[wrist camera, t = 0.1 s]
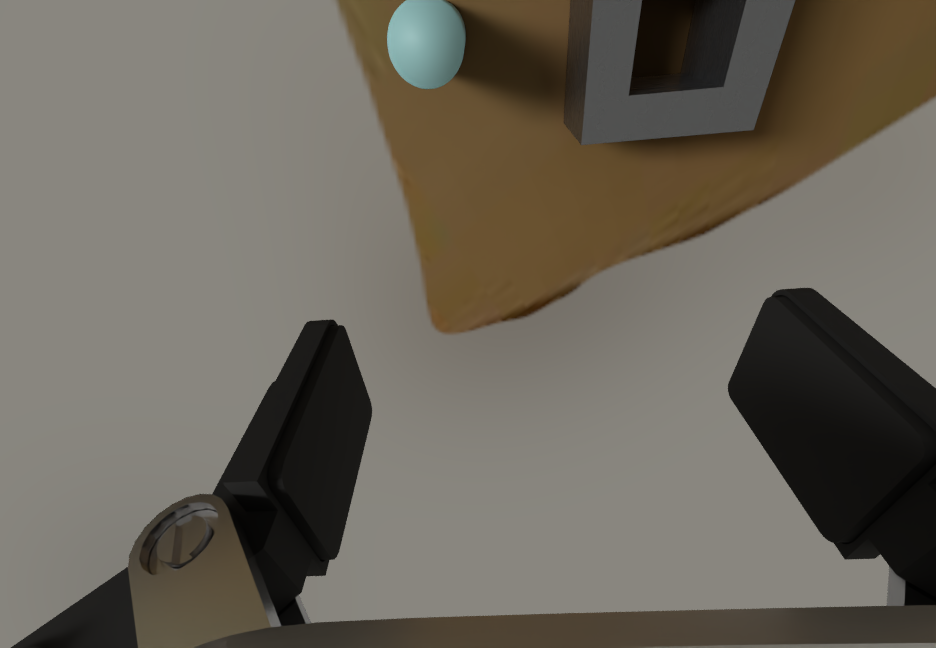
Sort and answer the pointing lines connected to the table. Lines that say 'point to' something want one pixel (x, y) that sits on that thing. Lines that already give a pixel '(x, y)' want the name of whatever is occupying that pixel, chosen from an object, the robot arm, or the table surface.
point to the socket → (672, 95)
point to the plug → (426, 42)
